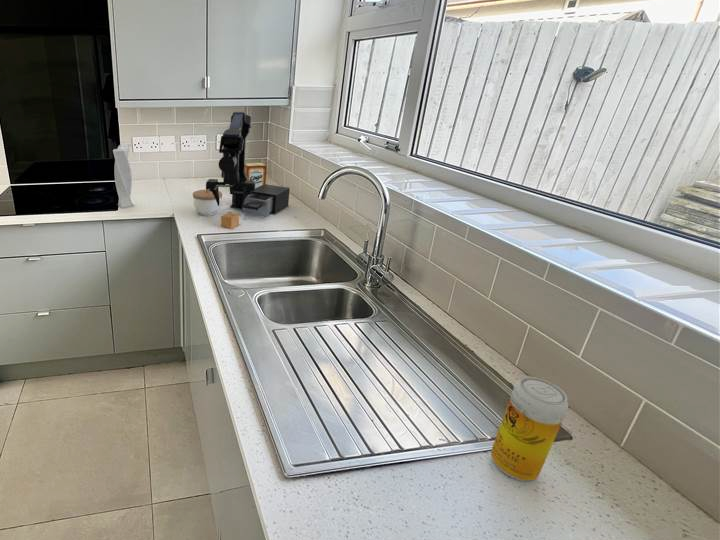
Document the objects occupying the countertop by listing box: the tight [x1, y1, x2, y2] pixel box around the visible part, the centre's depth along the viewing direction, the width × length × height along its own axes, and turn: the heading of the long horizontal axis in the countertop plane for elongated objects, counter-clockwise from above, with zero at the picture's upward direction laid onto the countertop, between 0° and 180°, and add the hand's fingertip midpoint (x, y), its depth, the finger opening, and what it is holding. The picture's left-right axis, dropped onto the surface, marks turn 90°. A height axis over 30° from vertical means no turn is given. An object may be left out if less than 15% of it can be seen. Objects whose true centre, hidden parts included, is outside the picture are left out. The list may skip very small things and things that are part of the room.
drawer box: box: [250, 183, 290, 215], centre depth 182 cm, size 15×13×9 cm
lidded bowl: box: [192, 188, 223, 217], centre depth 174 cm, size 13×13×11 cm
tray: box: [241, 193, 274, 218], centre depth 174 cm, size 18×11×7 cm, turn 147°
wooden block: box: [220, 211, 240, 230], centre depth 161 cm, size 5×6×4 cm
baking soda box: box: [245, 162, 267, 196], centre depth 199 cm, size 10×6×16 cm
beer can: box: [490, 376, 569, 482], centre depth 60 cm, size 6×6×15 cm
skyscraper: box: [112, 142, 134, 209], centre depth 182 cm, size 8×8×28 cm
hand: (230, 206), depth 159 cm, fingers open, 9 cm apart
